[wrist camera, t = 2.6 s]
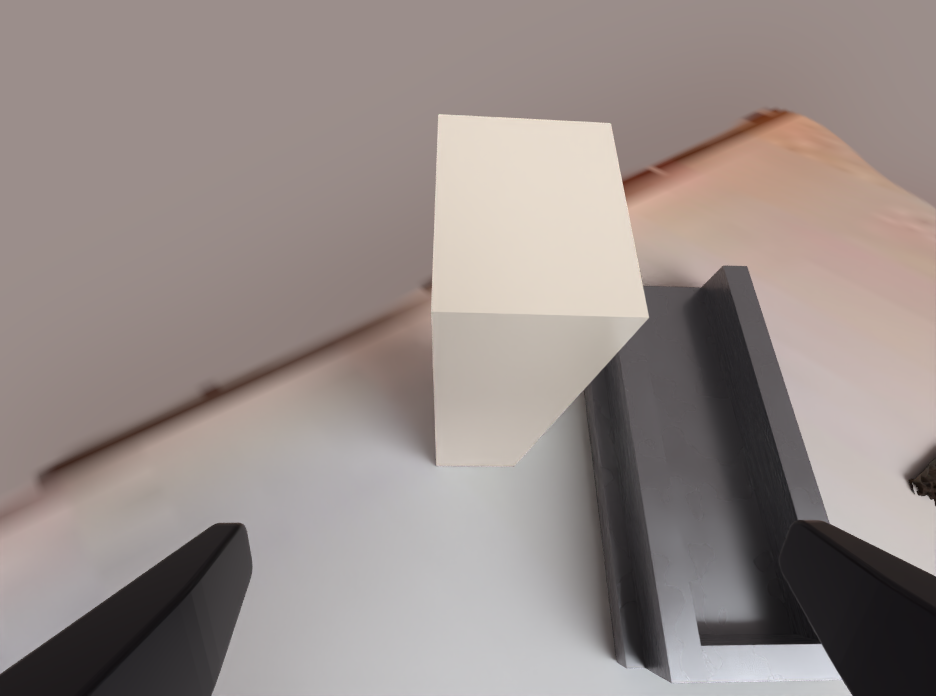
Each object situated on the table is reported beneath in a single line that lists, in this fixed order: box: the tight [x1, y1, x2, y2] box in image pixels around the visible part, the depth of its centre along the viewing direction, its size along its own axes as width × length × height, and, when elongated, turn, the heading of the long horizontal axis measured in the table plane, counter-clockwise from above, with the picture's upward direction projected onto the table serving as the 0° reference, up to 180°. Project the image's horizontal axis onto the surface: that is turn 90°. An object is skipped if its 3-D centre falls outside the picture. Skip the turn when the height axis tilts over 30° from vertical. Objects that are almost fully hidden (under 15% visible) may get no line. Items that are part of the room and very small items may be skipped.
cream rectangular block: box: [431, 114, 649, 467], centre depth 14 cm, size 4×4×14 cm
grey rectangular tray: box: [584, 266, 842, 683], centre depth 19 cm, size 16×8×3 cm, turn 0°
